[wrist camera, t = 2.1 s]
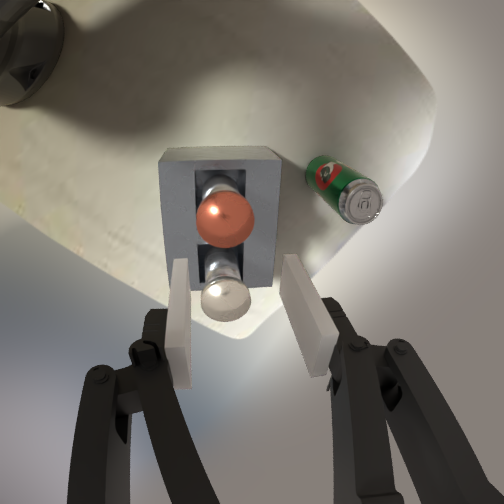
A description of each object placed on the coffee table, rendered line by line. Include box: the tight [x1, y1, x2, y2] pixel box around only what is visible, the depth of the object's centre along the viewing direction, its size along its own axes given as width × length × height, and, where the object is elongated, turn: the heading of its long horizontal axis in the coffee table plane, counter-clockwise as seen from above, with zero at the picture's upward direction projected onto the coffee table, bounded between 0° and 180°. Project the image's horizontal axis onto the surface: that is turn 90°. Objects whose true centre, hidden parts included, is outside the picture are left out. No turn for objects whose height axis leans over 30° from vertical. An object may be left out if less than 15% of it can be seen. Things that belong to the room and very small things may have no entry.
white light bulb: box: [201, 246, 251, 322], centre depth 31 cm, size 5×5×8 cm
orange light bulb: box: [196, 174, 255, 248], centre depth 27 cm, size 5×5×8 cm
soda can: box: [306, 156, 383, 225], centre depth 34 cm, size 5×5×12 cm
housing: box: [158, 146, 282, 291], centre depth 35 cm, size 15×12×8 cm
